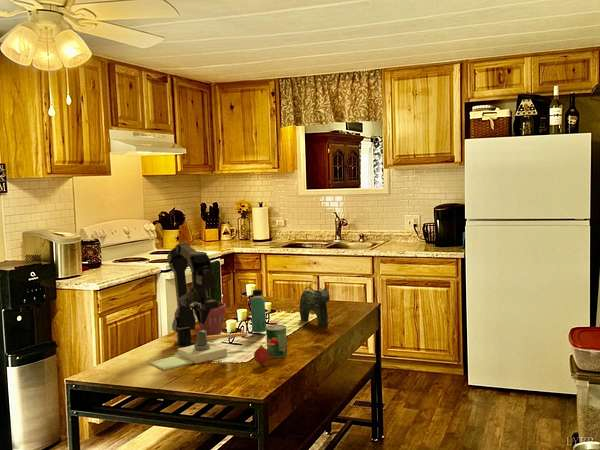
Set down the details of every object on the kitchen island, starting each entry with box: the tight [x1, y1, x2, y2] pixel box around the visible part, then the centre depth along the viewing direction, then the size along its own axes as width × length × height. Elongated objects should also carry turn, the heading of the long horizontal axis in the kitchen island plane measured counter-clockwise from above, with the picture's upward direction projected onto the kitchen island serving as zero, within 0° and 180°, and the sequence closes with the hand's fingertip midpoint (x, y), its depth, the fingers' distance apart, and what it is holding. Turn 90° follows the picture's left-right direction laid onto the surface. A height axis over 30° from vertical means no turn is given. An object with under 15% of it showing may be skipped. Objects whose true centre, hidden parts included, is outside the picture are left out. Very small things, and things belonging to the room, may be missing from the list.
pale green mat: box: [148, 355, 193, 371], centre depth 251 cm, size 12×12×1 cm
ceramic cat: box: [299, 281, 331, 327], centre depth 308 cm, size 20×6×20 cm, turn 34°
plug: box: [193, 329, 210, 351], centre depth 259 cm, size 6×6×10 cm
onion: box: [253, 344, 271, 367], centre depth 243 cm, size 6×6×8 cm
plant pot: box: [194, 301, 227, 336], centre depth 296 cm, size 14×14×13 cm
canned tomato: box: [265, 324, 288, 358], centre depth 257 cm, size 8×8×11 cm
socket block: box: [177, 341, 228, 364], centre depth 259 cm, size 14×14×5 cm
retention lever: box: [207, 331, 248, 341], centre depth 268 cm, size 20×2×1 cm, turn 103°
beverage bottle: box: [250, 288, 267, 334], centre depth 290 cm, size 6×7×20 cm
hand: (201, 323), depth 258 cm, fingers closed
